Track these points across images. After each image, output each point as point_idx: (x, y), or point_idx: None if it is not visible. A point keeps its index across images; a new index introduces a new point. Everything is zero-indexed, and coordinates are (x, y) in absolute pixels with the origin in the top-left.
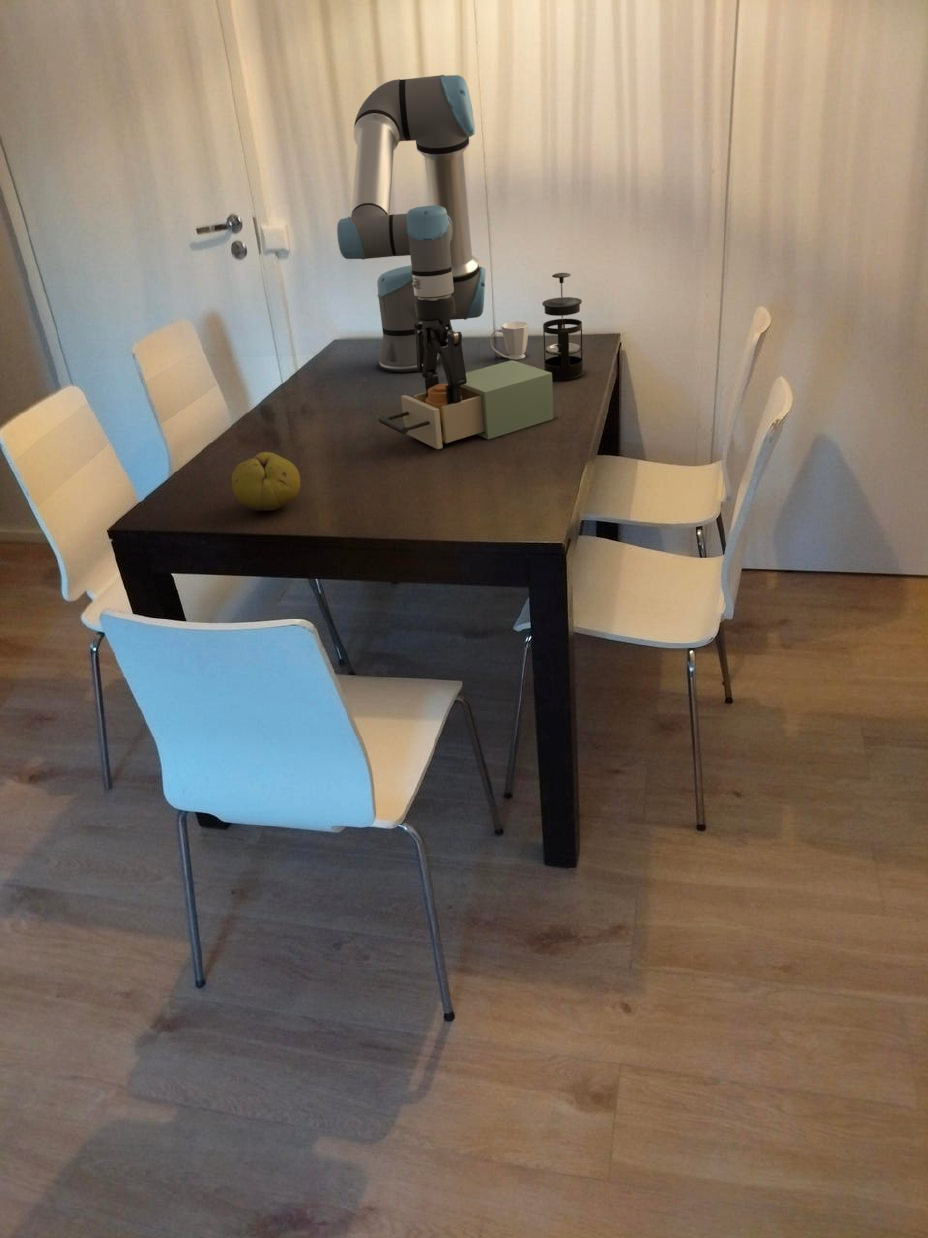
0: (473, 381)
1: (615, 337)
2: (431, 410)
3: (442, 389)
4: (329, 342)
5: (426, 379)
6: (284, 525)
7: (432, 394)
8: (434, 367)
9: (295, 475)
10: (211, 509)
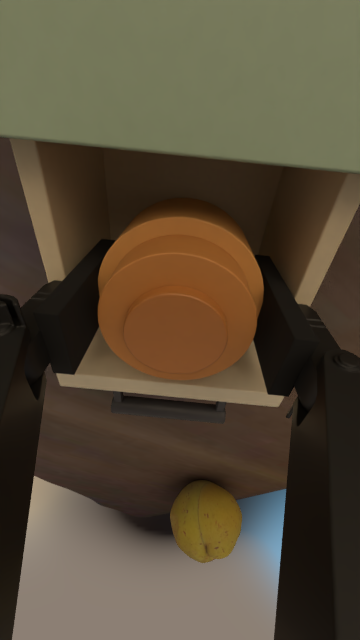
0: (178, 15)
1: None
2: (262, 403)
3: (214, 361)
4: None
5: (69, 373)
6: (248, 489)
7: (189, 376)
8: (22, 378)
9: (237, 525)
10: (158, 495)
